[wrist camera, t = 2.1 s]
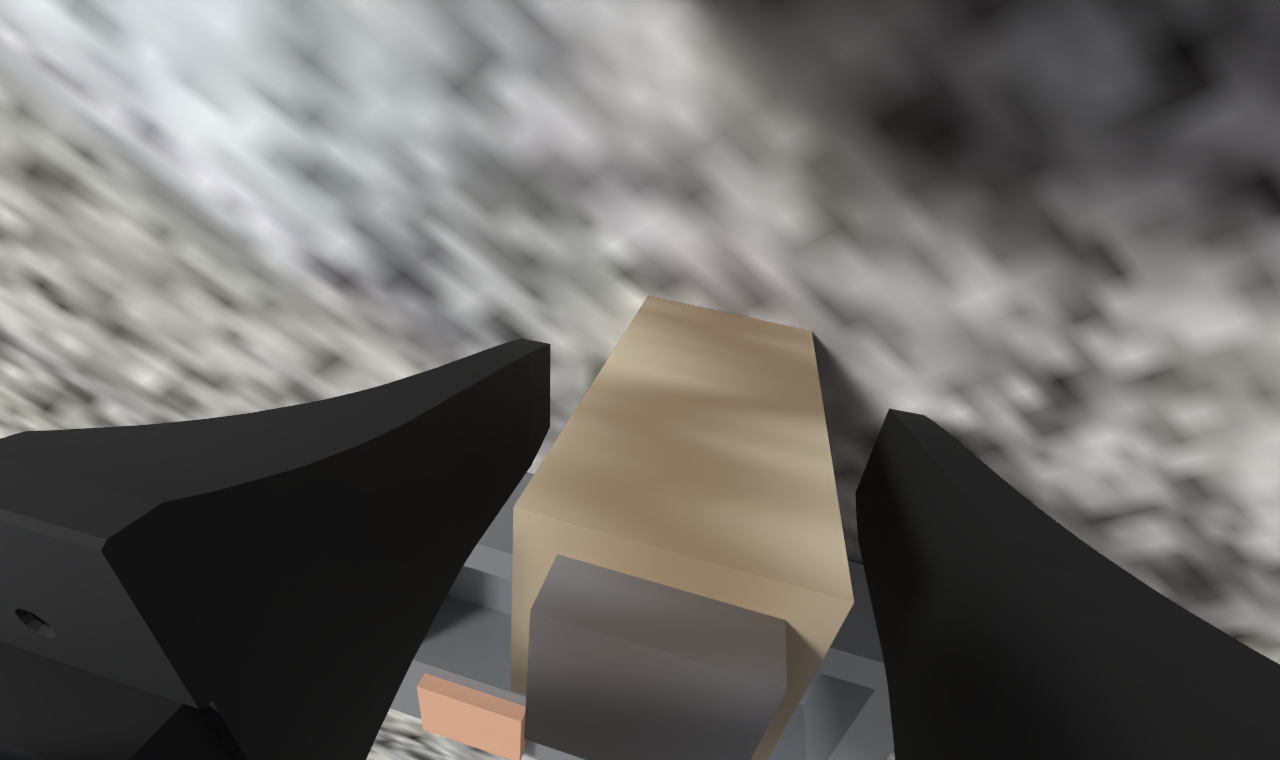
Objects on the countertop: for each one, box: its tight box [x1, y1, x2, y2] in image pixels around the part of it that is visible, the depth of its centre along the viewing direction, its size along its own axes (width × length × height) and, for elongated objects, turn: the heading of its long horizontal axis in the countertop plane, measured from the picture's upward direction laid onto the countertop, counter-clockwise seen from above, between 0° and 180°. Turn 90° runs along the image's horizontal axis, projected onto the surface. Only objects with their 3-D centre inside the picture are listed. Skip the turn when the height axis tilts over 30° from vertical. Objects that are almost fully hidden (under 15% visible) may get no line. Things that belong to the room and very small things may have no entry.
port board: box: [390, 473, 894, 760], centre depth 15 cm, size 14×9×3 cm, turn 82°
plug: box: [510, 296, 854, 760], centre depth 8 cm, size 3×3×7 cm
